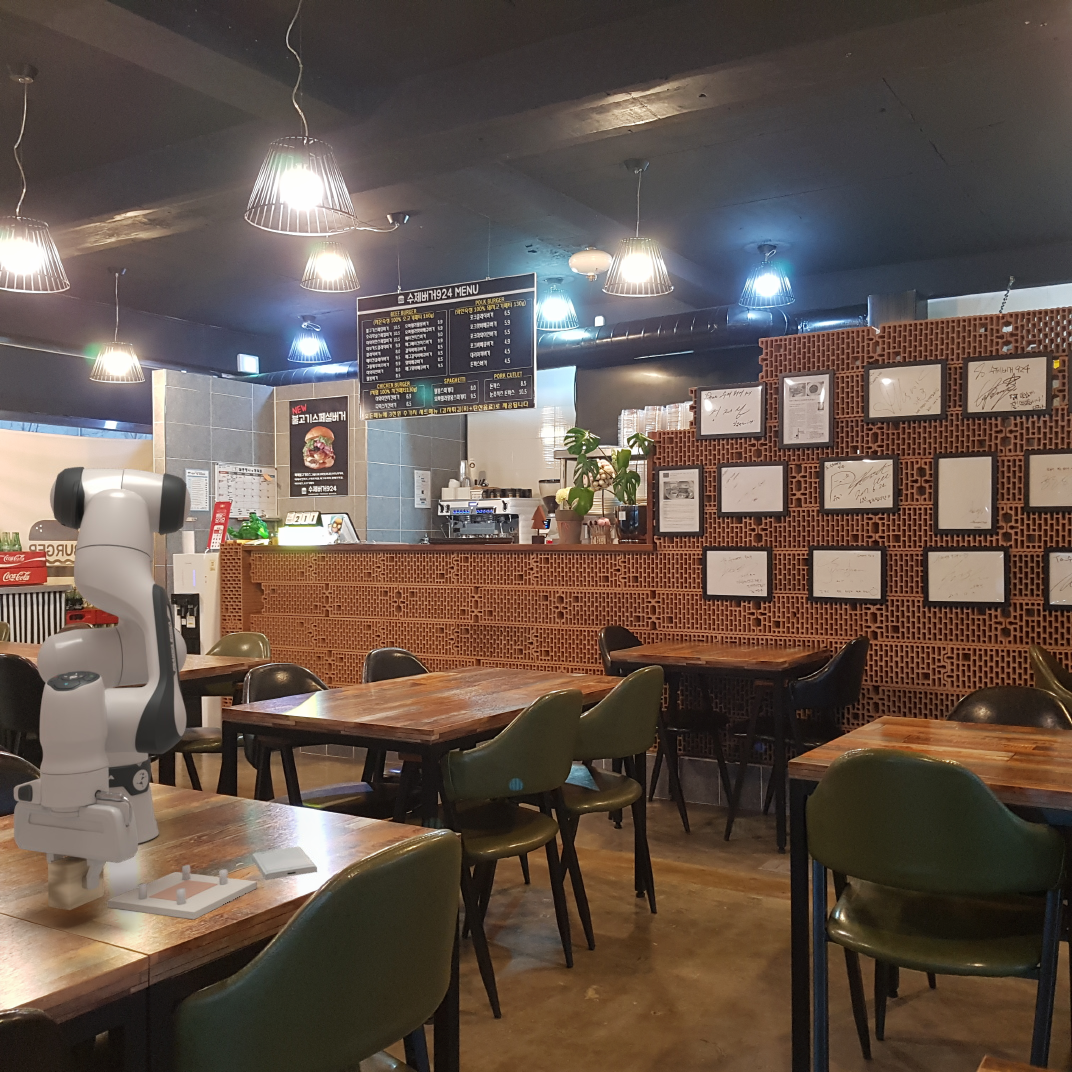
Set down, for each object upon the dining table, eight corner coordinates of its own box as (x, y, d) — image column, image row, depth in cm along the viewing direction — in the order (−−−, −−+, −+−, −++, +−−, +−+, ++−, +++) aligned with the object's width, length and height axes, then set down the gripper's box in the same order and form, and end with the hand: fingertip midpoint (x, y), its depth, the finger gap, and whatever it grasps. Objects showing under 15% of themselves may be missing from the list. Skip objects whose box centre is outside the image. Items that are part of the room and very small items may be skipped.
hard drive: (251, 853, 169) (265, 872, 158) (300, 845, 173) (317, 864, 162) (252, 863, 169) (265, 883, 158) (300, 855, 173) (317, 875, 162)
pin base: (107, 907, 147) (107, 886, 147) (175, 878, 160) (174, 859, 160) (194, 919, 141) (193, 898, 141) (257, 888, 154) (256, 868, 154)
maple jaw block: (48, 906, 140) (47, 863, 140) (83, 892, 145) (82, 851, 145) (69, 910, 138) (69, 866, 138) (103, 895, 144) (103, 853, 144)
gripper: (148, 788, 141) (149, 887, 141) (42, 777, 149) (43, 870, 149) (113, 799, 135) (114, 902, 135) (4, 787, 143) (6, 884, 143)
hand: (76, 885), depth 142 cm, fingers closed on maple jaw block, 4 cm apart
